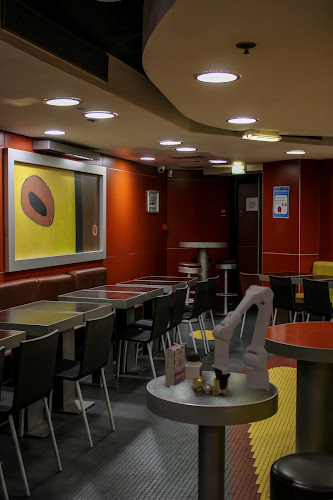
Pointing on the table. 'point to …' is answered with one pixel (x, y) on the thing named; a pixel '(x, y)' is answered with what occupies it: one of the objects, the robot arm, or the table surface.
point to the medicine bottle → (193, 366)
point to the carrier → (206, 389)
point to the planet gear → (217, 387)
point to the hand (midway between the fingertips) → (221, 387)
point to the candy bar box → (174, 365)
